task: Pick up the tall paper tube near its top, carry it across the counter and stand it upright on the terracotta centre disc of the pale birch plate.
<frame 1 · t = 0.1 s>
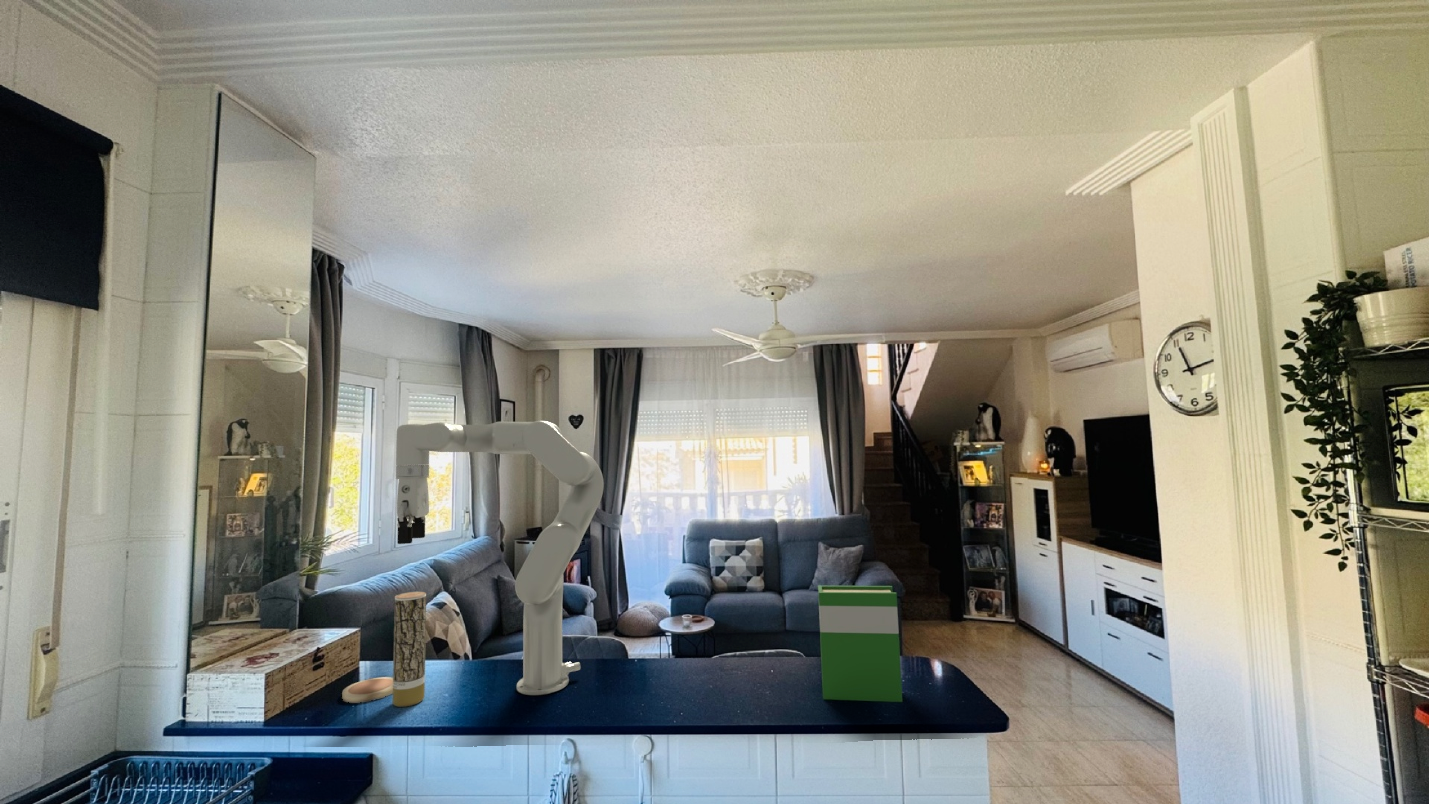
hand: (411, 540, 146), 37 cm above the countertop, tool pointing down, fingers open, 9 cm apart
hardback book: (861, 694, 136), on the countertop
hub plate: (370, 692, 145), on the countertop
paper tube: (408, 702, 138), on the countertop
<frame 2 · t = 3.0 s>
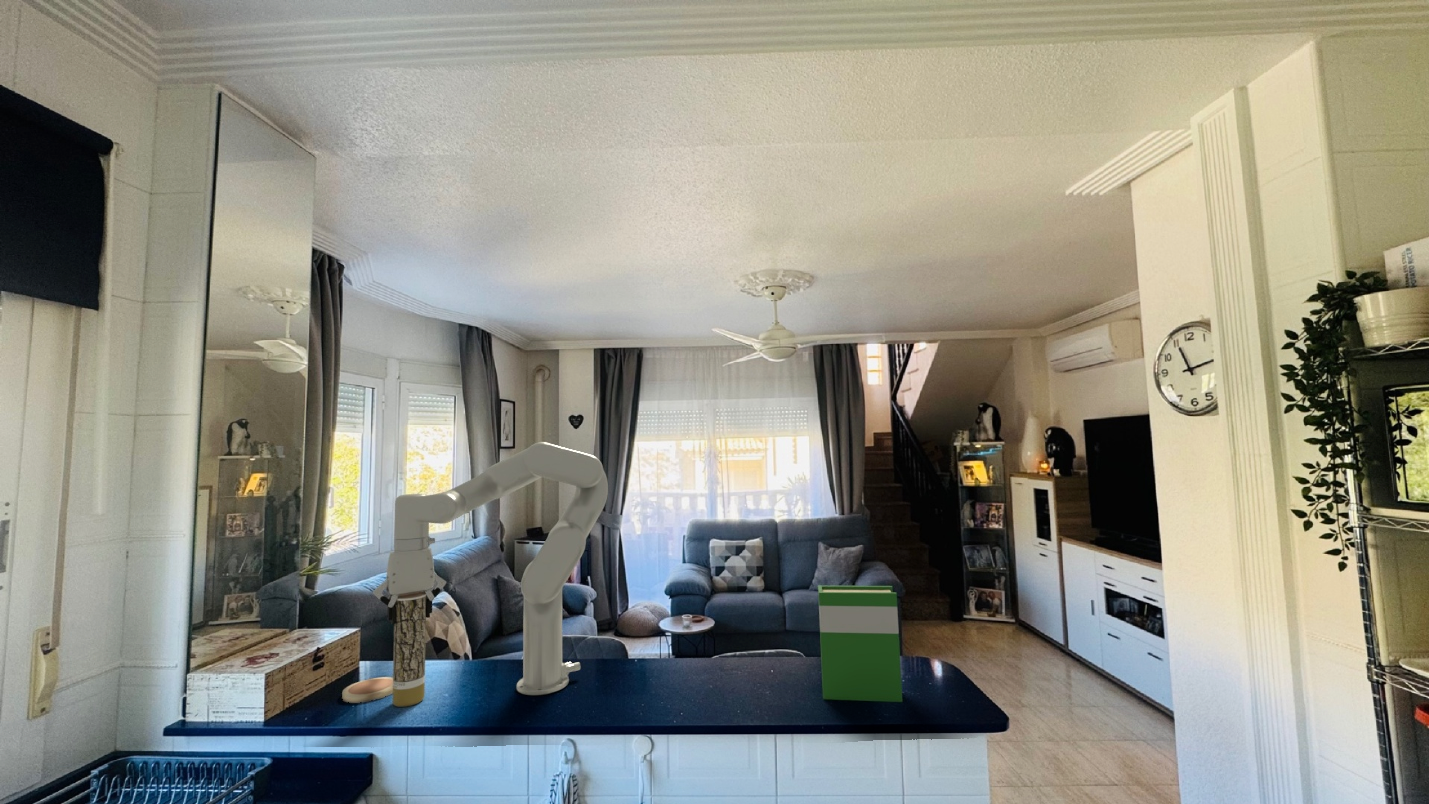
hand: (410, 619, 140), 19 cm above the countertop, tool pointing down, fingers closed on paper tube, 6 cm apart
paper tube: (408, 702, 138), on the countertop, touching gripper
everything else where it was.
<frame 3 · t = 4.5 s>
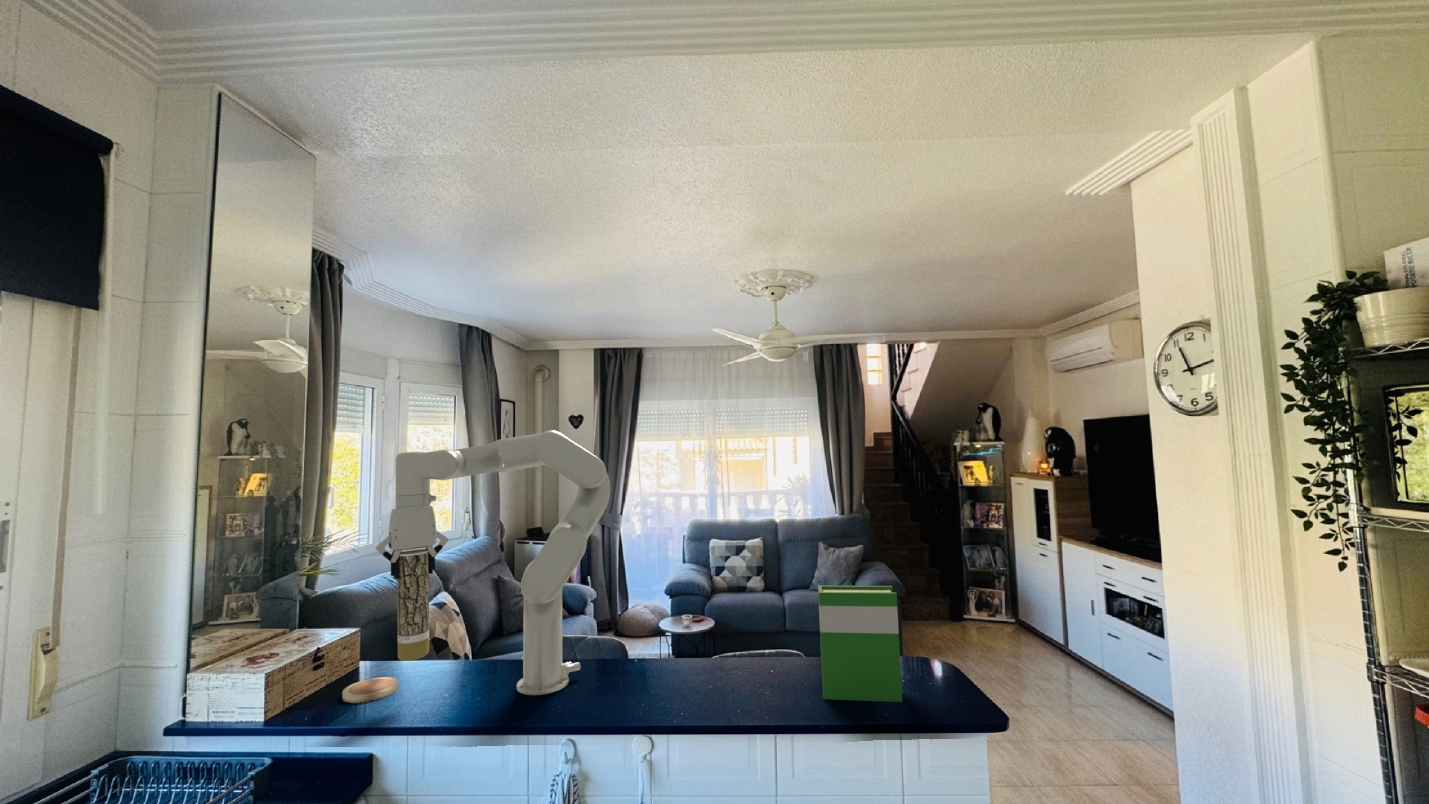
hand: (413, 575, 141), 30 cm above the countertop, tool pointing down, fingers closed on paper tube, 6 cm apart
paper tube: (413, 657, 139), point 10 cm above the countertop, touching gripper
everything else where it was.
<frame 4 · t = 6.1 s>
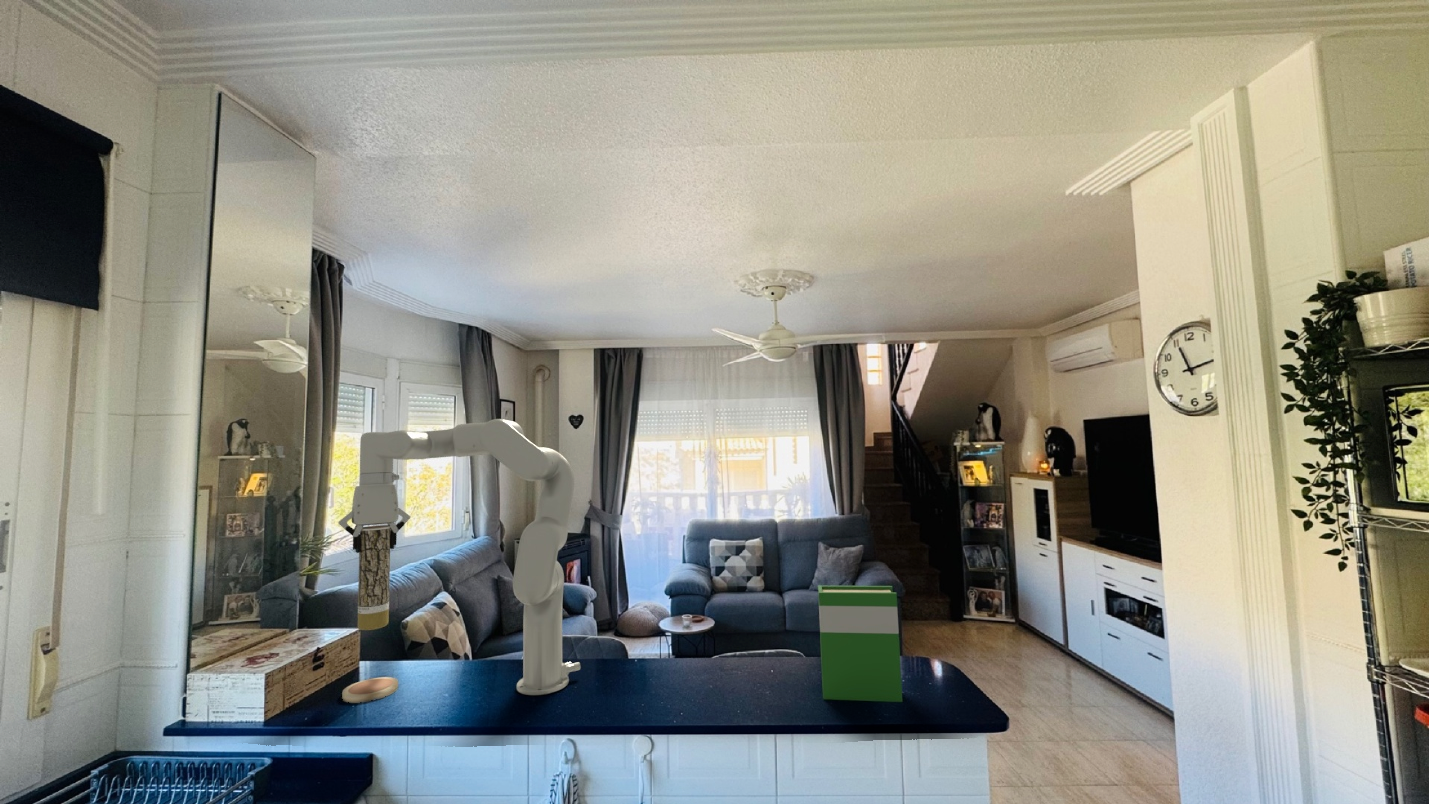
hand: (374, 549, 148), 35 cm above the countertop, tool pointing down, fingers closed on paper tube, 6 cm apart
paper tube: (373, 627, 146), point 16 cm above the countertop, touching gripper
everything else where it was.
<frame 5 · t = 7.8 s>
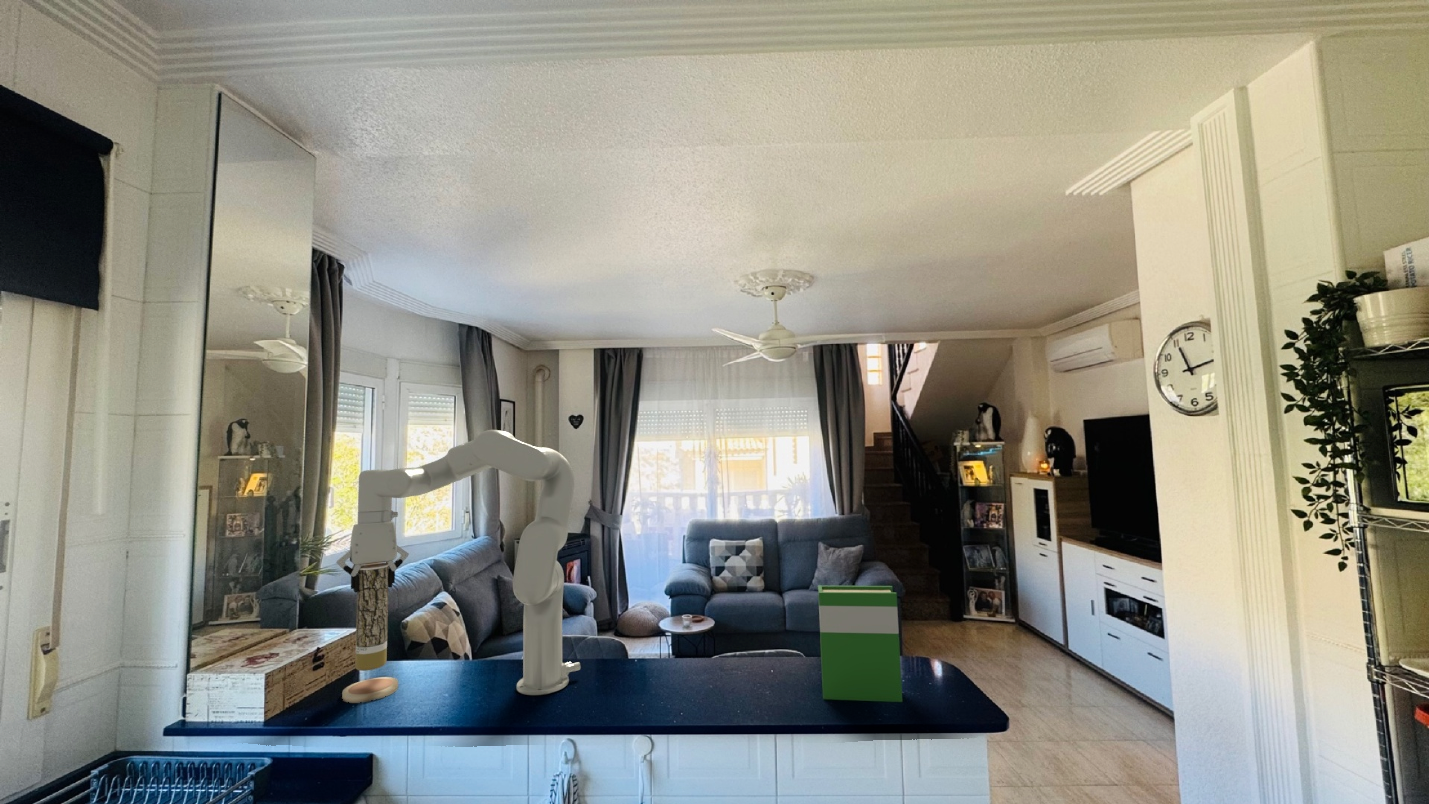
hand: (372, 588, 147), 25 cm above the countertop, tool pointing down, fingers closed on paper tube, 6 cm apart
paper tube: (370, 667, 145), point 6 cm above the countertop, touching gripper
everything else where it was.
when the fingers open (22 cm above the countertop, at t = 9.1 s): paper tube drops 1 cm, resting on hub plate.
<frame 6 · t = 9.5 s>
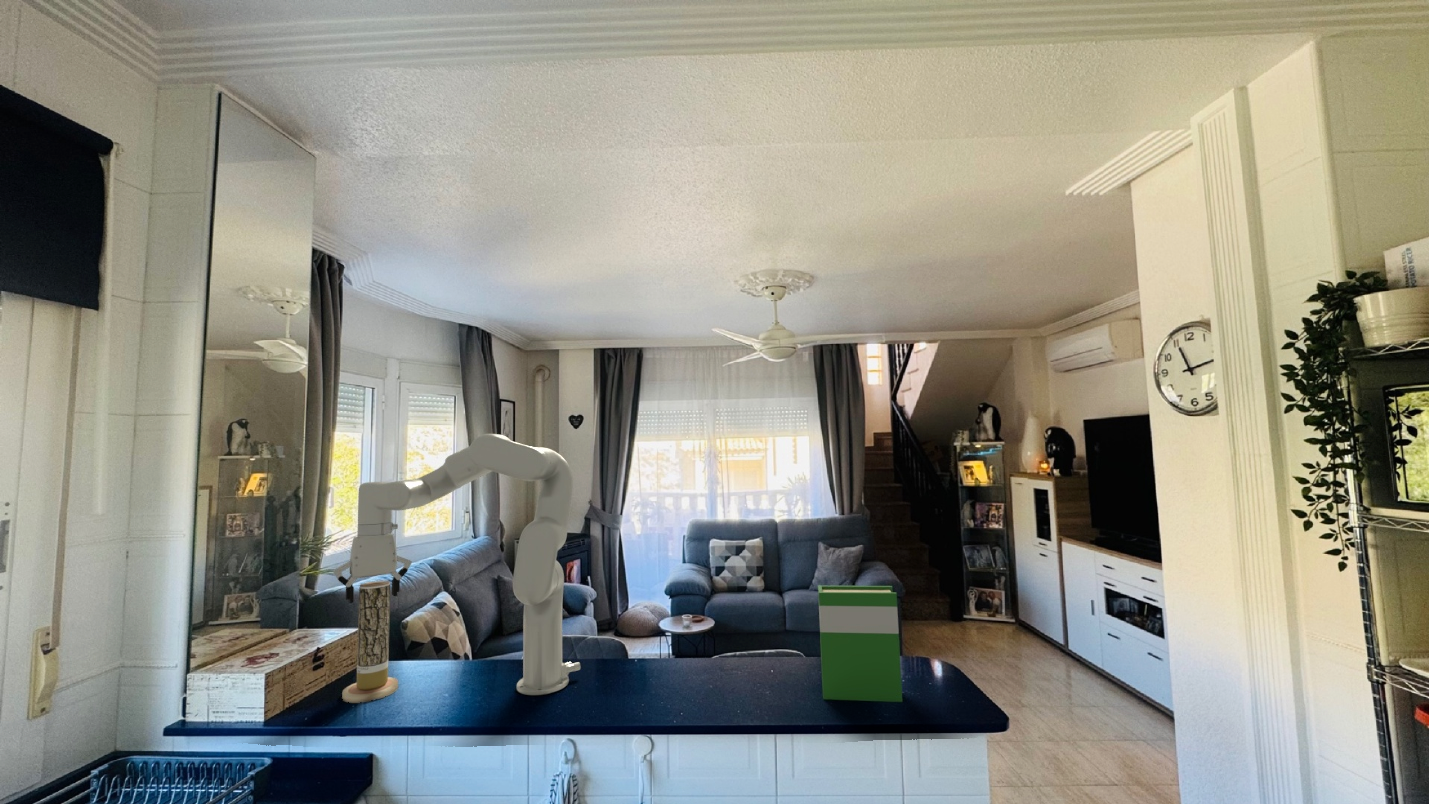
hand: (373, 598, 147), 23 cm above the countertop, tool pointing down, fingers open, 9 cm apart
paper tube: (372, 686, 145), point 1 cm above the countertop, touching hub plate
everything else where it was.
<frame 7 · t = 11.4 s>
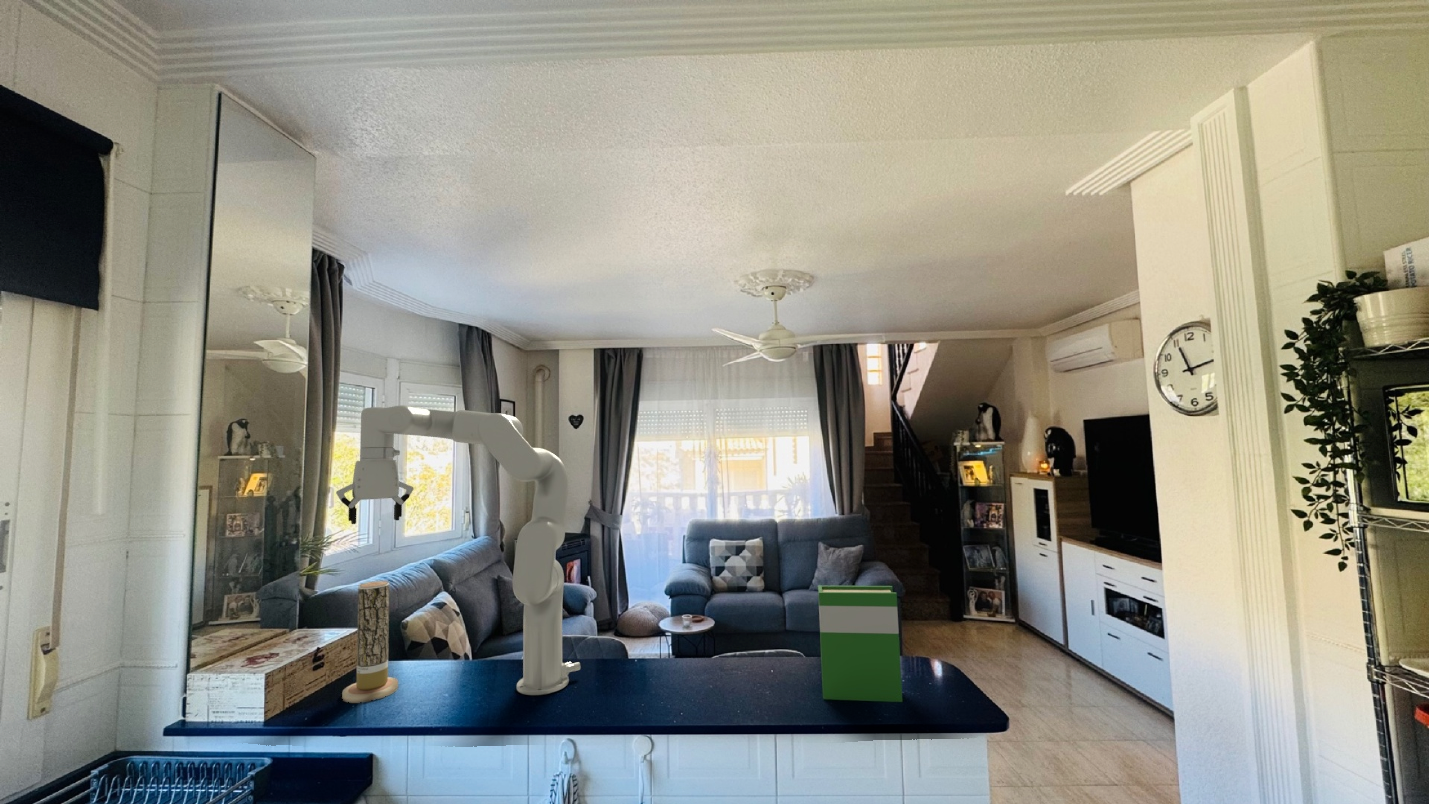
hand: (375, 521, 148), 42 cm above the countertop, tool pointing down, fingers open, 9 cm apart
nothing on the countertop moved.
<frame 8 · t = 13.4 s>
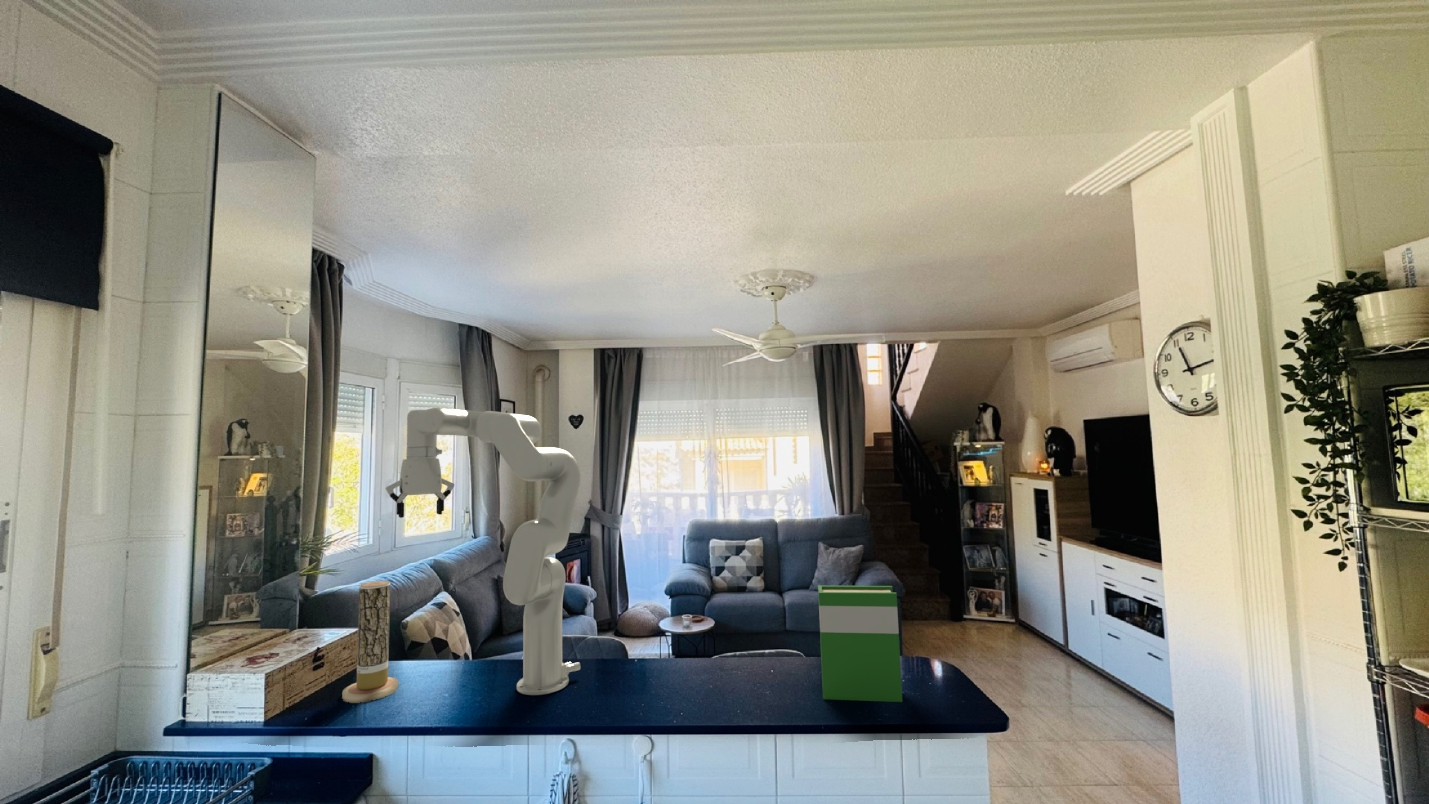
hand: (420, 515, 161), 42 cm above the countertop, tool pointing down, fingers open, 9 cm apart
nothing on the countertop moved.
at the end: paper tube 0.4 cm off-centre on the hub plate, point 1.4 cm above the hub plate's base; paper tube tilted 0°; the gripper is holding nothing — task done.
